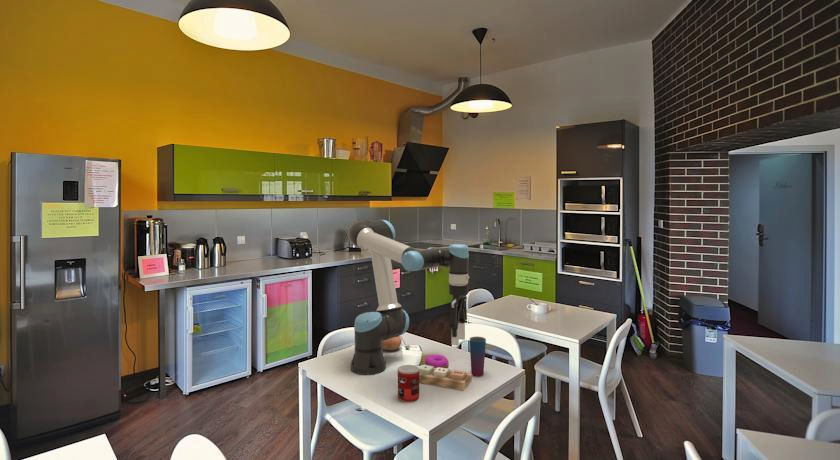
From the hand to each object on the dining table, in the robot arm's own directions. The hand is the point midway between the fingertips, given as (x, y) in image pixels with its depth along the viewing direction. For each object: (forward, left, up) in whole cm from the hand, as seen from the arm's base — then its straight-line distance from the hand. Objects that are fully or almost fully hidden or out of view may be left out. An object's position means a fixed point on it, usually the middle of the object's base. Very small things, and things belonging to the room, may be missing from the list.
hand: (458, 341), depth 176 cm
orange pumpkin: (-44, +26, -17) cm, 54 cm away
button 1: (-14, 0, -15) cm, 20 cm away
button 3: (0, 0, -15) cm, 15 cm away
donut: (-15, +14, -17) cm, 27 cm away
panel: (-7, 0, -17) cm, 18 cm away
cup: (+4, +13, -17) cm, 22 cm away
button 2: (-7, 0, -15) cm, 16 cm away
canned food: (-13, -19, -17) cm, 29 cm away
